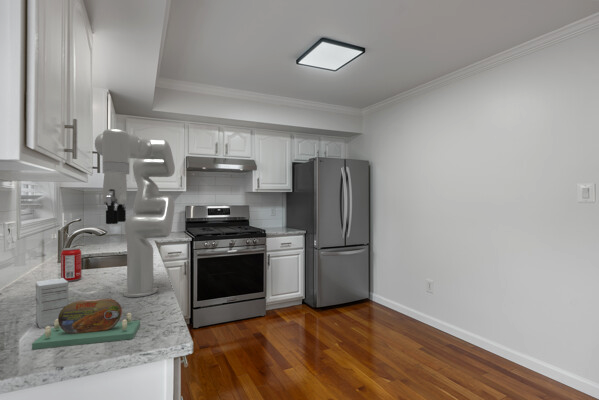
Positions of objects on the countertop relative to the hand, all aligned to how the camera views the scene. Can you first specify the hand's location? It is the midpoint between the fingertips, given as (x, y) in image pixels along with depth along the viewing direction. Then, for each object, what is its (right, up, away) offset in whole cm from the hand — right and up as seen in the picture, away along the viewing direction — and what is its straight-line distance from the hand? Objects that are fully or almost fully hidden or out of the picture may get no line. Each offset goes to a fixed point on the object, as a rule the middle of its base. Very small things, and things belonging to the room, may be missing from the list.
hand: (116, 222), depth 105 cm
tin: (+1, -29, -14) cm, 32 cm away
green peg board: (+1, -30, -14) cm, 34 cm away
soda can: (-48, -30, +48) cm, 74 cm away
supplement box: (-18, -31, -4) cm, 35 cm away
